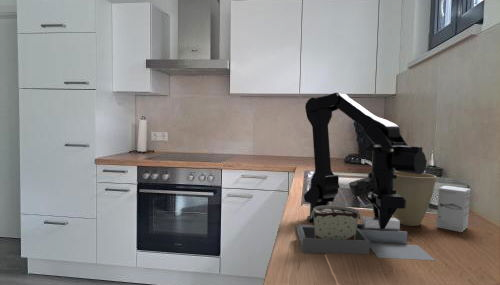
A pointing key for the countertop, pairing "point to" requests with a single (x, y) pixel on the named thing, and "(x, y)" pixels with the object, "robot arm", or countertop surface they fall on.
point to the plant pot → (413, 196)
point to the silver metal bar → (373, 224)
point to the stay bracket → (384, 236)
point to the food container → (335, 222)
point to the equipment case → (331, 242)
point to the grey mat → (400, 251)
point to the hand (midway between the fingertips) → (380, 226)
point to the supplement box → (453, 208)
